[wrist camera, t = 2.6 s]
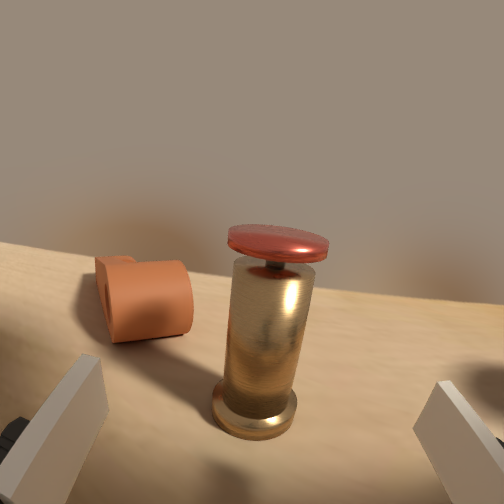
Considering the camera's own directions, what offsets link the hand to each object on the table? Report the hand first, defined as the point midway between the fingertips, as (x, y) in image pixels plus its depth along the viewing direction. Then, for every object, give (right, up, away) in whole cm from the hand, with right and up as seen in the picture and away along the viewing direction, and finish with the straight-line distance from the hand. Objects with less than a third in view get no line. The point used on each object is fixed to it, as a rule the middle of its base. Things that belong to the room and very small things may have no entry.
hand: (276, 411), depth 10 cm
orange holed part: (-16, -2, +27) cm, 31 cm away
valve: (-1, -7, +12) cm, 14 cm away
